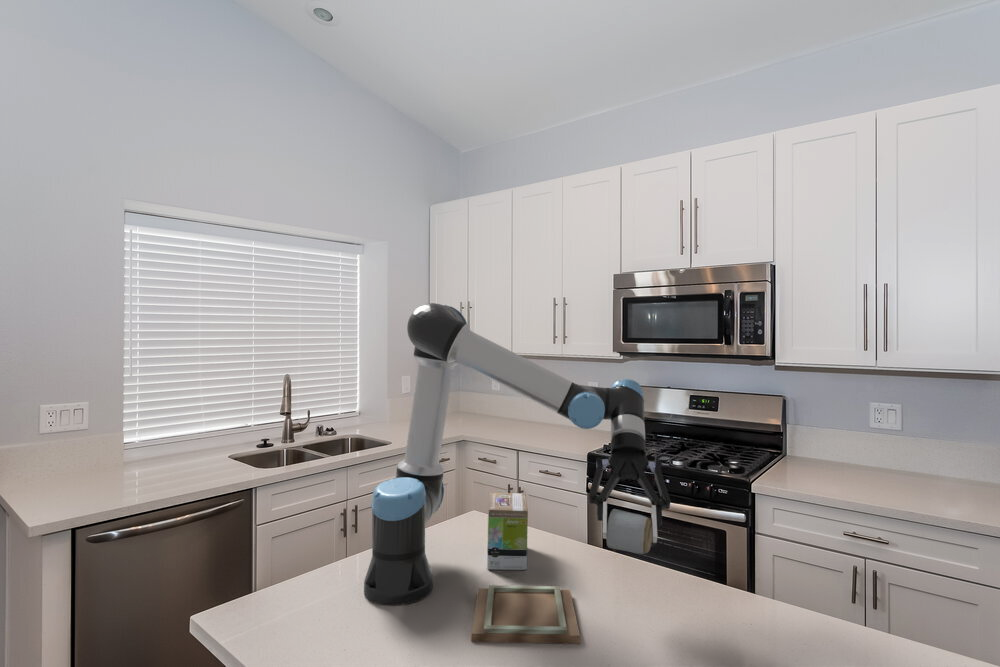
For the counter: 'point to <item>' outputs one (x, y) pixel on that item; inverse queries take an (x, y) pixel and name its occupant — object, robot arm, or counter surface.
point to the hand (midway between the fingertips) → (629, 537)
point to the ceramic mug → (629, 532)
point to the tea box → (507, 531)
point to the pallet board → (524, 615)
